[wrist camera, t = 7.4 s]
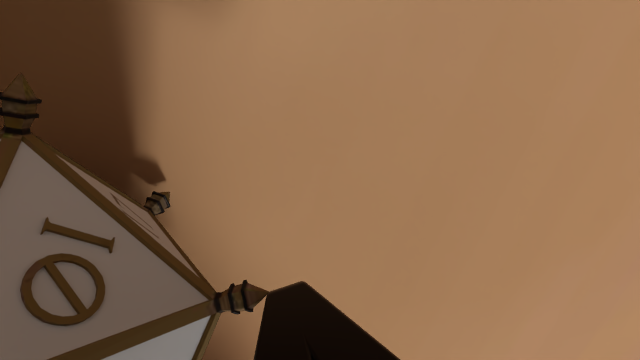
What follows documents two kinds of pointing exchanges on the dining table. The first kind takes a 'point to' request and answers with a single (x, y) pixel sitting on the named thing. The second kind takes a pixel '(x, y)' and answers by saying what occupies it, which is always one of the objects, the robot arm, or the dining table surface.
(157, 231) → the game die
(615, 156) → the dining table surface
